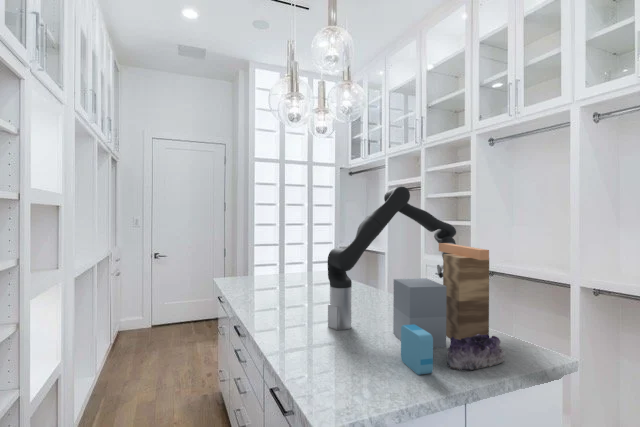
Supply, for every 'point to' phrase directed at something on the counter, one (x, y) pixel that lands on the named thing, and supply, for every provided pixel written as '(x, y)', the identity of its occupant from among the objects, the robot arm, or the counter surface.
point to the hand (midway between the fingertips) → (457, 279)
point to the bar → (464, 251)
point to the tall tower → (466, 296)
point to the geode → (474, 352)
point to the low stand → (420, 307)
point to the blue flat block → (417, 349)
